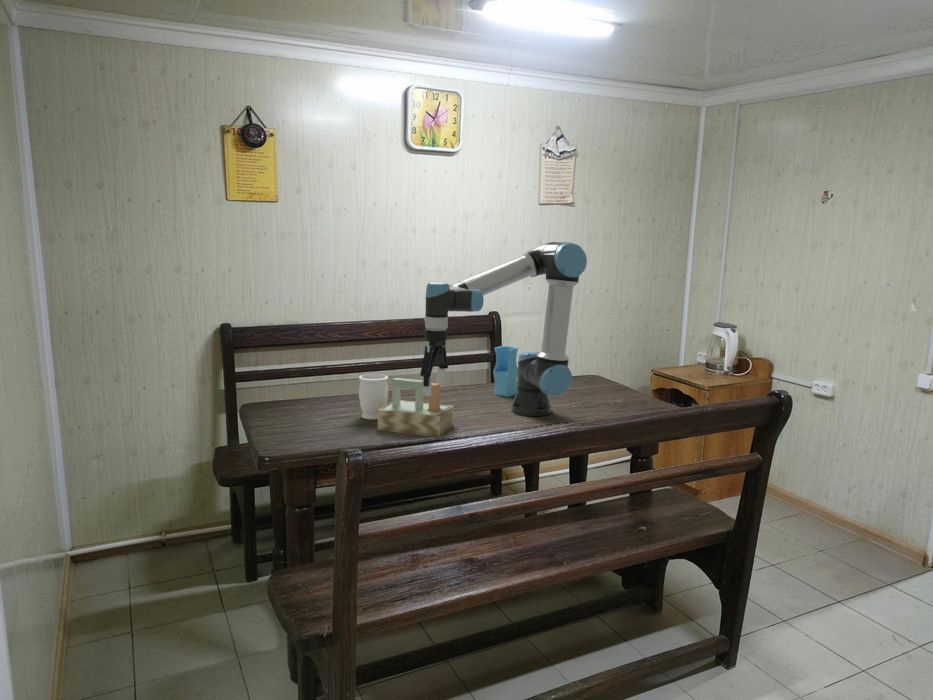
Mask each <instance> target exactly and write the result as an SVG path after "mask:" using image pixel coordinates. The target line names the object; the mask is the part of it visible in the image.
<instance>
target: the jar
mask: <svg viewBox="0 0 933 700" xmlns="http://www.w3.org/2000/svg"><path fill="white" fill-rule="evenodd" d="M358 380H359V381H360V383H359V386H358V399H359V404H360V408H361V412H362V414H361V418H363V419H365V420H372V421H373V420H375V421H376V420H378V409H380V408H382V407H383V406H385V405H387V404H388V399H389V386H388V380H389V376H388V375H386V374H380V373H378V374H377V373H366V374H361V375H359V376H358Z"/></svg>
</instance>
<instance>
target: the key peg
mask: <svg viewBox="0 0 933 700" xmlns="http://www.w3.org/2000/svg"><path fill="white" fill-rule="evenodd" d="M428 403H429V411H431V412H439V411H440V405H441V387H440V384H439V383H437V382H431V396H428Z"/></svg>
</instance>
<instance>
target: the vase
mask: <svg viewBox="0 0 933 700" xmlns="http://www.w3.org/2000/svg"><path fill="white" fill-rule="evenodd" d="M494 352H495V358H496V359H495V360H496V361H495V365H494V369H493V372H492V374H493V379H494V390H493V395H496V396H499V397H501V396H502V397H506V398H507V397H508V398H509V397H512V396H515V395H516V392H517V380H518V362H517V357H518V356H517V355H518V352H519V347H516V346H508V345H500V346H497V347H494Z"/></svg>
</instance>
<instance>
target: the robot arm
mask: <svg viewBox="0 0 933 700" xmlns="http://www.w3.org/2000/svg"><path fill="white" fill-rule="evenodd" d="M587 259H588V258H587V254H586V252H585V250H584V248H582V247H581V246H580V245H578V244H577V243H573V242H570V241H568V242H566V241H563V242H562V241H561V242H560V241H559V242H557V241H550V242H547V243H546V242H545V243H543V244H542V245H539V246H537V247H535V248H533V249H531V250H528V251H526V252H523V254H522V256H521V257H519V258H515V259H514V260H511V261H509V262H506V263H504V264H502V265H499V266H496V267H495V268H492V269H490V270H487V271H484V272H482V273H479V274H477V275H475V276H472V277H470V278H467V279H465V280H463V281H461V282H457V283H456V284H449V283H447V282H437V281H436V282H435V281H434V282H433V281H431V282H428V283H427V285H426V287H425V288H426V290H425V291H426V292H425V316H424V319H423V321H424V322H425V323H424V327H425V330H424V341H426V342H428V345H425V346H424V353H423V354H424V355H423V359H422V364H421V370H420V377H422V381H423V397H424V396H425V397H429V396H431V383H433V382H432V379H433V377H432V376H431V375H432V372H433V368H434V365H435V363H437V367H438V368H437V370H436V383H439V384H440V388H445V385H446V384H445V383H446V369H448V368H449V363H448V357H447V347H446V344H447V343H446V342H447V341H448V330H447V329H448V327H449V325H448V323H449V314H448V313H449V312H464V313H465V312H471V313H473V312H474V313H475V312H480V311H481V310H482V309H483V307H484V301H485V300H484V296H485V295H488V294H491V293H493V292H495V291H497V290H500V289H502V288H505V287H506V286H509V285H512V284H514V283H516V282H519V281H521V280H524V279H526V278H529V277H530V278H536V277H537V276H543V275H545V281H546V282H547V284H548V291H547V298H546V308H545V316H544V325H543V333H542V343H541V350H540V351H539V352H538V351H531V352H530V351H529V352H521V353H520V354H519V355H518V360H517V367H518V377H517V382H516V388H517V392H516V394H515V395H514V398H513V400H512V402H511V411H512V412H513V414H518V415H521V416H527V417H545V416H548V415H550V414H551V412H552V405H551V401H550V397H549V396H560V395H562V394H564V393H565V392H566V391H567V390H569V388H570V386H571V385H572V381H573V374H572V371H571V369H570V368H569V367H568V366H569V360H570V358H569V357H568V356H567V354H566V350H567V349H566V348H567V342H568V341H567V339H568V334H569V333H568V332H569V325H570V318H571V317H570V315H571V309H572V300H573V293H574V288H575V286H577V284H579V280H580V276H581V275H582V274H583V272H585V270H586V267H587V263H588V262H587V261H588V260H587ZM435 361H436V362H435Z"/></svg>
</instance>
